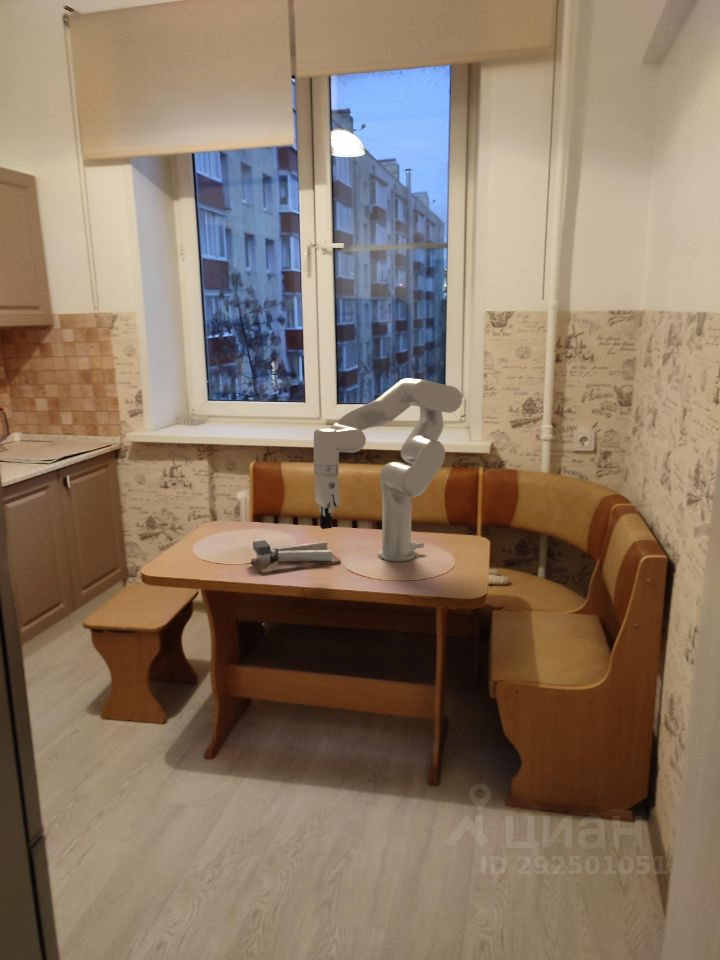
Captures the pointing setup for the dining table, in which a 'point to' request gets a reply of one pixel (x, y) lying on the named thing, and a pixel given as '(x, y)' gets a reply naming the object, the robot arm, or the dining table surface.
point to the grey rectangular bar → (301, 555)
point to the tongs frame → (265, 558)
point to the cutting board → (291, 565)
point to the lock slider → (261, 547)
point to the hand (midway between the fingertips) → (325, 527)
